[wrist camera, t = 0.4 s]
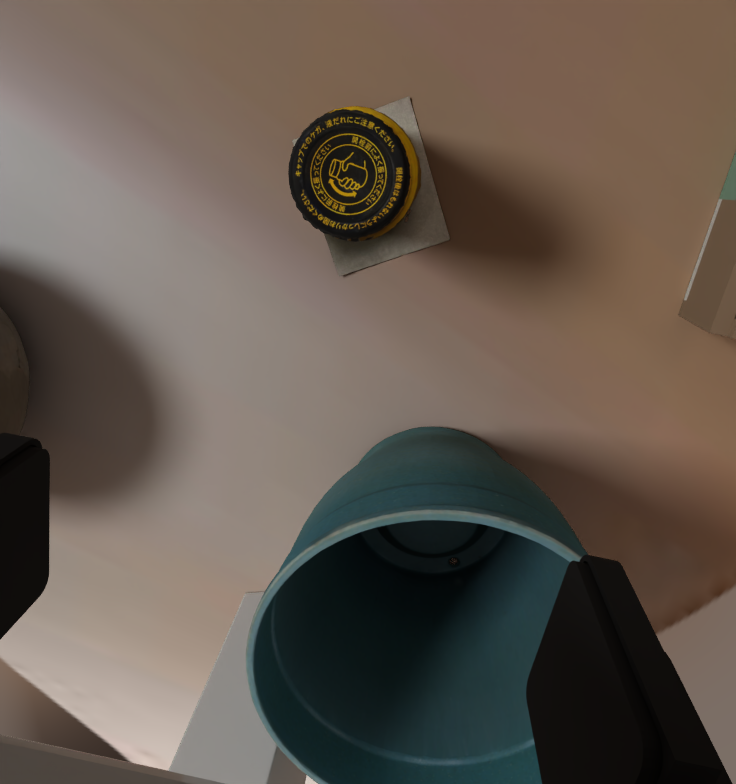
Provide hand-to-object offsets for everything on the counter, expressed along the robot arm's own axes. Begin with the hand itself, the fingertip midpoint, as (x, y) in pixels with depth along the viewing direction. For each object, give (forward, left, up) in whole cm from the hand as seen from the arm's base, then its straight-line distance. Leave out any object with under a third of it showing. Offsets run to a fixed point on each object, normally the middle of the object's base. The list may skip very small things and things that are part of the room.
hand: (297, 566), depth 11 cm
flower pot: (+15, +6, -31) cm, 34 cm away
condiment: (-5, -2, -31) cm, 31 cm away
